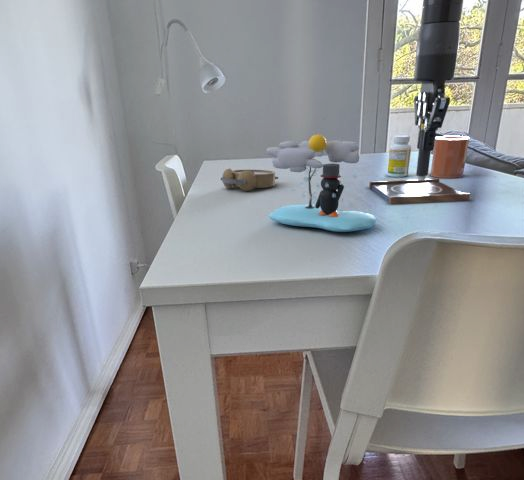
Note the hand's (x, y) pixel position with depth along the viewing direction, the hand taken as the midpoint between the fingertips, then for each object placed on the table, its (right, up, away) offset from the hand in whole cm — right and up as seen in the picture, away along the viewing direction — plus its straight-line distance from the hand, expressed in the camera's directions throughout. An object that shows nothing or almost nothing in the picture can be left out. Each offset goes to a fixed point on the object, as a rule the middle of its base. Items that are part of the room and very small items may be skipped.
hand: (424, 149), depth 99 cm
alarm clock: (-38, -2, +19) cm, 42 cm away
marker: (0, -5, +3) cm, 6 cm away
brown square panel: (0, -7, +6) cm, 10 cm away
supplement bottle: (+2, +4, +27) cm, 27 cm away
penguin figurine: (-24, -20, -13) cm, 34 cm away
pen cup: (+14, +4, +24) cm, 28 cm away
